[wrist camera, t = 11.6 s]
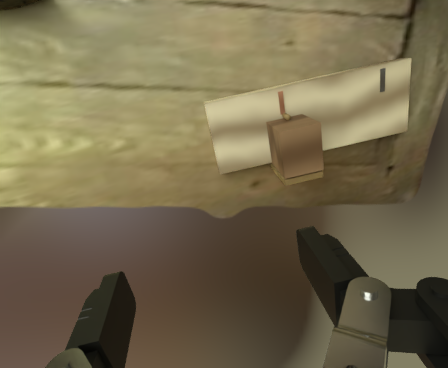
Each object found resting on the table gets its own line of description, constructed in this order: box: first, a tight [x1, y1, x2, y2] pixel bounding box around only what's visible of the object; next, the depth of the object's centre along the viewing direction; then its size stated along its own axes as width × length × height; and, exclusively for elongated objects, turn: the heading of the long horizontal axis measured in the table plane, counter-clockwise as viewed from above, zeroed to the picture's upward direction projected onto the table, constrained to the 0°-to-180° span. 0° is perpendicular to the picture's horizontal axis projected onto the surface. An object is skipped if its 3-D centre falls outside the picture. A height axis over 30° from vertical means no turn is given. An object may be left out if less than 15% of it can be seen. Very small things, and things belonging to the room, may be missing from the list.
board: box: [204, 58, 411, 174], centre depth 41 cm, size 10×28×2 cm, turn 101°
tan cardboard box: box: [266, 113, 324, 186], centre depth 39 cm, size 8×5×7 cm, turn 11°
